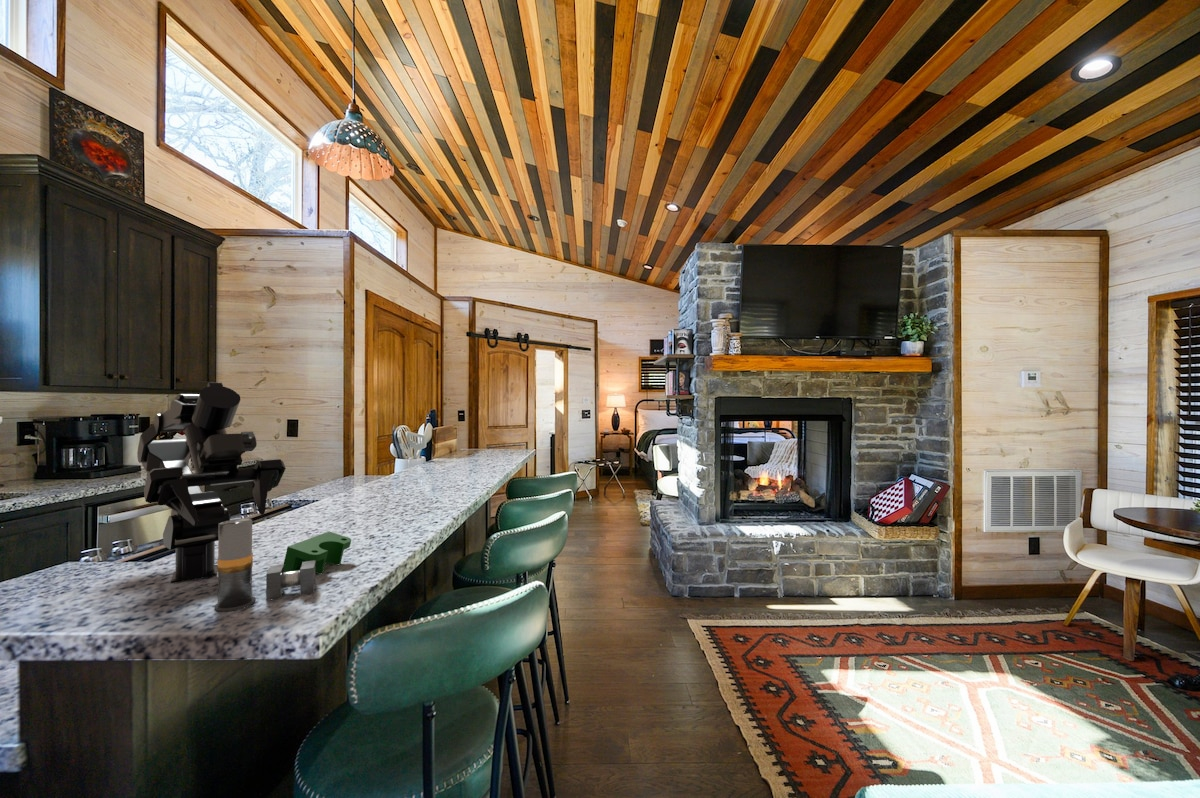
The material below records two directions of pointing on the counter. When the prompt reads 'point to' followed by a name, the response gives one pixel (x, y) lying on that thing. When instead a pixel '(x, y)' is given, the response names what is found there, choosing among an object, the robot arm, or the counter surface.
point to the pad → (234, 607)
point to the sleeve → (234, 563)
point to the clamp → (316, 551)
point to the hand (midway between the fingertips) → (231, 518)
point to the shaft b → (290, 579)
